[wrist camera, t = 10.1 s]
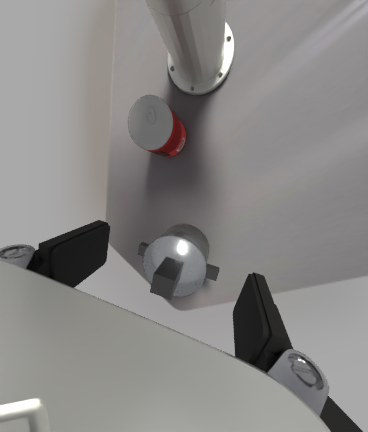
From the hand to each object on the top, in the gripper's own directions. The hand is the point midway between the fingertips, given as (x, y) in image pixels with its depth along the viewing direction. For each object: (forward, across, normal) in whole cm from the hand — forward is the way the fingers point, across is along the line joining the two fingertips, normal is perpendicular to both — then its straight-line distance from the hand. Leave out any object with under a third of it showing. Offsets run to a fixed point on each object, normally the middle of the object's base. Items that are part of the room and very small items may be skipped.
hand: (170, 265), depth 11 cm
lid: (+20, +2, +13) cm, 24 cm away
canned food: (+30, +12, -10) cm, 34 cm away
